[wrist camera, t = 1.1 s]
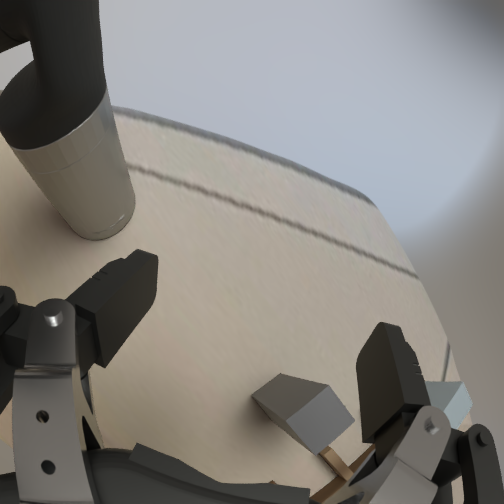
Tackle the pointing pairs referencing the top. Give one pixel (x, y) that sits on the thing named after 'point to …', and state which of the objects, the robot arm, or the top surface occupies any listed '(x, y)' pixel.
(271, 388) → the grey tall rectangular block
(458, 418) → the slate plug
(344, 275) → the top surface
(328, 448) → the cable comb
